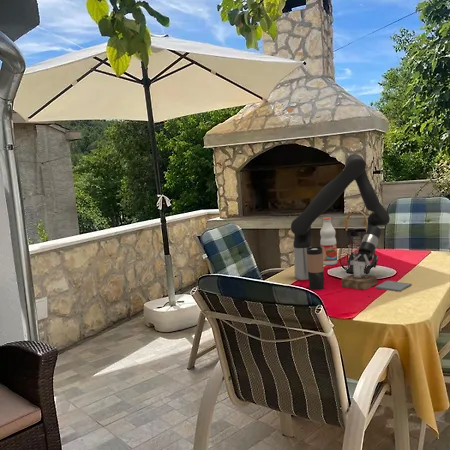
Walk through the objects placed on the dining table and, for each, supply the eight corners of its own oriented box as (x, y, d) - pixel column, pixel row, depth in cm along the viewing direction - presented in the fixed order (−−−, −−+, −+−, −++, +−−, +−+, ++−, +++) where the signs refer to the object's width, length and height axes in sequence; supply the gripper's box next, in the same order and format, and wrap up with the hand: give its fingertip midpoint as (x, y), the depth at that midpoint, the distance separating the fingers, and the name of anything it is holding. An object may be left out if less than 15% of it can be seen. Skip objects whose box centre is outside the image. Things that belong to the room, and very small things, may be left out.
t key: (350, 285, 217) (349, 261, 215) (354, 283, 219) (352, 260, 218) (365, 287, 211) (363, 263, 209) (368, 285, 213) (367, 261, 212)
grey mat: (375, 288, 208) (375, 286, 208) (387, 282, 216) (387, 280, 216) (400, 291, 199) (400, 290, 199) (411, 285, 208) (411, 283, 207)
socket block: (342, 286, 215) (341, 278, 215) (354, 280, 223) (354, 273, 223) (364, 290, 207) (364, 281, 206) (377, 284, 215) (376, 276, 214)
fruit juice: (329, 261, 272) (327, 216, 269) (341, 263, 264) (338, 217, 261) (318, 263, 267) (315, 218, 264) (329, 266, 259) (326, 219, 256)
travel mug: (325, 285, 220) (322, 246, 217) (324, 290, 213) (321, 249, 210) (309, 285, 222) (307, 247, 219) (308, 290, 215) (305, 250, 212)
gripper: (352, 240, 223) (341, 267, 217) (379, 241, 213) (368, 270, 206) (358, 248, 227) (348, 275, 221) (384, 250, 217) (374, 278, 210)
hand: (357, 272), depth 214 cm, fingers open, 8 cm apart
